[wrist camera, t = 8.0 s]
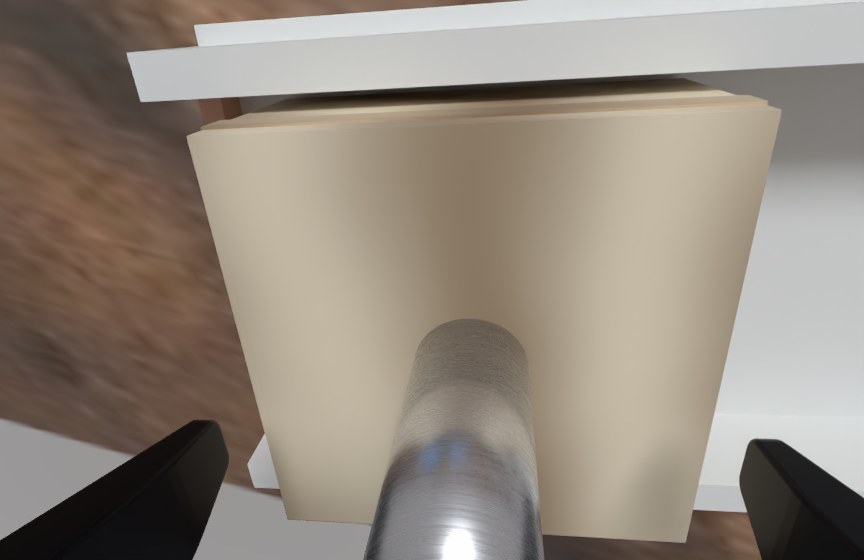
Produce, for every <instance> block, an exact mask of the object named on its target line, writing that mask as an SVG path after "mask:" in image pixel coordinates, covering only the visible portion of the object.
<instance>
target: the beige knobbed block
mask: <svg viewBox="0 0 864 560" xmlns="http://www.w3.org/2000/svg"><path fill="white" fill-rule="evenodd" d="M768 102H769V101H767V100H764V99H760V98H757V97H754V96H751V95H734V94H731V93H728V92H725V91H722V90H719V89H716V88H713V87H710V86H706V85H703V84H700V83H697V82H694V81H691V80H688V79H685V78H670V79H651V80H632V81H613V82H594V83H575V84H556V85H537V86H518V87H499V88H480V89H461V90H442V91H423V92H404V93H385V94H367V95H348V96H329V97H310V98H291V99H285V100H282V101H279V102H277V103H274V104H271V105H268V106H266V107H263V108H260V109H258V110H255V111H252V112H250V113H247V114H244V115H242V116H239V117H236V118H234V119H231V120H219V121H216V122H213V123H211V124H208V125H205V126H202V127H200V130H201V131H199V132H196V133H193V134H191V135H188V136H186V137H187V141H188V144H189V148H190V152H191V156H192V159H193V163H194V167H195V171H196V175H197V178H198V182H199V186H200V190H201V193H202V197H203V201H204V205H205V209H206V212H207V216H208V220H209V224H210V227H211V231H212V235H213V239H214V243H215V246H216V250H217V254H218V258H219V261H220V265H221V269H222V273H223V277H224V280H225V284H226V288H227V292H228V295H229V299H230V303H231V307H232V311H233V314H234V318H235V322H236V326H237V329H238V333H239V337H240V341H241V345H242V348H243V352H244V356H245V360H246V363H247V367H248V371H249V375H250V378H251V382H252V386H253V390H254V394H255V397H256V401H257V405H258V409H259V412H260V416H261V420H262V424H263V428H264V431H265V435H266V439H267V443H268V446H269V450H270V454H271V458H272V462H273V465H274V469H275V473H276V477H277V480H278V484H279V488H280V492H281V496H282V499H283V503H284V507H285V511H286V514H287V518H288V519H289V520H306V521H324V522H340V523H357V524H372V528H371V532H370V536H369V540H368V543H367V547H366V551H365V555H364V559H363V560H544V552H543V539H542V534H545V535H562V536H579V537H596V538H613V539H630V540H647V541H664V542H681V543H686V538H687V534H688V529H689V525H690V520H691V516H692V511H693V507H694V502H695V498H696V493H697V489H698V485H699V480H700V476H701V471H702V467H703V462H704V458H705V453H706V449H707V444H708V440H709V435H710V431H711V426H712V422H713V417H714V413H715V408H716V404H717V399H718V395H719V390H720V386H721V381H722V377H723V372H724V368H725V363H726V359H727V354H728V350H729V345H730V341H731V336H732V332H733V327H734V323H735V318H736V314H737V310H738V305H739V301H740V296H741V292H742V287H743V283H744V278H745V274H746V269H747V265H748V260H749V256H750V251H751V247H752V242H753V238H754V233H755V229H756V224H757V220H758V215H759V211H760V206H761V202H762V197H763V193H764V188H765V184H766V179H767V175H768V170H769V166H770V161H771V157H772V152H773V148H774V144H775V139H776V135H777V130H778V126H779V121H780V117H781V112H782V110H781V109H778V108H774V107H771V106H768Z"/></svg>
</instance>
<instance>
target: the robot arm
mask: <svg viewBox="0 0 864 560" xmlns="http://www.w3.org/2000/svg"><path fill="white" fill-rule="evenodd" d="M228 463H229V454H228V450H227V447H226V444H225V440H224V437H223V434H222V431H221V428H220V425H219V424H218V423H217V422H216V421H214V420H193V421H191V422H189V423H188V424H186V425H185V426H183V427H181V428H180V429H178V430H177V431H175V432H173V433H172V434H170V435H169V436H167V437H165V438H164V439H162V440H161V441H159V442H157V443H156V444H154V445H153V446H151V447H149V448H148V449H146V450H145V451H143V452H141V453H140V454H138V455H137V456H135V457H133V458H132V459H130V460H128V461H127V462H125V463H124V464H122V465H120V466H119V467H117V468H116V469H114V470H112V471H111V472H109V473H108V474H106V475H104V476H103V477H101V478H100V479H98V480H96V481H95V482H93V483H92V484H90V485H88V486H87V487H85V488H84V489H82V490H80V491H79V492H77V493H76V494H74V495H72V496H71V497H69V498H68V499H66V500H64V501H63V502H61V503H60V504H58V505H56V506H55V507H53V508H51V509H50V510H48V511H47V512H45V513H44V514H42V515H40V516H39V517H37V518H35V519H34V520H32V521H31V522H29V523H27V524H26V525H24V526H23V527H21V528H19V529H18V530H16V531H15V532H13V533H11V534H10V535H8V536H7V537H5V538H3V539H2V540H0V560H192V559H193V557H194V555H195V553H196V550H197V547H198V546H199V543H200V540H201V538H202V536H203V533H204V530H205V527H206V525H207V522H208V519H209V517H210V514H211V511H212V509H213V506H214V503H215V500H216V497H217V495H218V492H219V490H220V487H221V484H222V481H223V479H224V476H225V473H226V471H227V468H228ZM739 486H740V491H741V494H742V498H743V501H744V504H745V507H746V510H747V513H748V517H749V520H750V523H751V526H752V529H753V532H754V536H755V539H756V542H757V545H758V548H759V551H760V555H761V558H762V560H864V497H862V496H861V495H859V494H858V493H856V492H855V491H854V490H852V489H851V488H849V487H848V486H846V485H845V484H844V483H842V482H841V481H839V480H838V479H836V478H835V477H834V476H832V475H831V474H829V473H828V472H826V471H825V470H824V469H822V468H821V467H819V466H818V465H816V464H815V463H814V462H812V461H811V460H809V459H808V458H806V457H805V456H804V455H802V454H801V453H799V452H798V451H796V450H795V449H793V448H792V447H791V446H789V445H788V444H786V443H785V442H783V441H781V440H778V439H761V438H755V439H752V440H750V442H749V443H748V445H747V449H746V453H745V456H744V460H743V464H742V468H741V471H740V476H739Z"/></svg>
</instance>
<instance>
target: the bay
mask: <svg viewBox="0 0 864 560" xmlns="http://www.w3.org/2000/svg"><path fill="white" fill-rule="evenodd" d="M194 28H195V32H196V37H197V41H198V45H199V46H196V47H185V48H174V49H163V50H152V51H141V52H130V53H127V57H128V60H129V63H130V67H131V70H132V74H133V77H134V80H135V84H136V87H137V91H138V94H139V97H140V101H141V102H151V101H169V100H188V99H198V100H199V104H200V108H201V112H202V116H203V120H204V124H205V125H208V124H211V123H213V122H216V121H219V120H231V119H234V118H236V117H239V116H242V115H244V114H247V113H250V112H252V111H255V110H258V109H260V108H263V107H266V106H268V105H271V104H274V103H277V102H279V101H282V100H285V99H291V98H310V97H329V96H348V95H367V94H385V93H404V92H423V91H442V90H461V89H480V88H499V87H518V86H537V85H556V84H575V83H594V82H613V81H632V80H651V79H670V78H685V79H688V80H691V81H694V82H697V83H700V84H703V85H706V86H710V87H713V88H716V89H719V90H722V91H725V92H728V93H731V94H734V95H751V96H754V97H757V98H760V99H764V100H767V101H769V102H768V106H771V107H774V108H778V109H781V110H782V112H781V117H780V121H779V126H778V130H777V135H776V139H775V144H774V148H773V152H772V157H771V161H770V166H769V170H768V175H767V179H766V184H765V188H764V193H763V197H762V202H761V206H760V211H759V215H758V220H757V224H756V229H755V233H754V238H753V242H752V247H751V251H750V256H749V260H748V265H747V269H746V274H745V278H744V283H743V287H742V292H741V296H740V301H739V305H738V310H737V314H736V318H735V323H734V327H733V332H732V336H731V341H730V345H729V350H728V354H727V359H726V363H725V368H724V372H723V377H722V381H721V386H720V390H719V395H718V399H717V404H716V408H715V413H714V417H713V422H712V426H711V431H710V435H709V440H708V444H707V449H706V453H705V458H704V462H703V467H702V471H701V476H700V480H699V485H698V489H697V493H696V498H695V502H694V507H693V510H710V511H729V512H747V510H746V507H745V504H744V501H743V498H742V494H741V491H740V486H739V476H740V471H741V468H742V464H743V460H744V456H745V453H746V449H747V445H748V443H749V442H750V440H752V439H755V438H761V439H778V440H781V441H783V442H785V443H786V444H788V445H789V446H791V447H792V448H793V449H795V450H796V451H798V452H799V453H801V454H802V455H804V456H805V457H806V458H808V459H809V460H811V461H812V462H814V463H815V464H816V465H818V466H819V467H821V468H822V469H824V470H825V471H826V472H828V473H829V474H831V475H832V476H834V477H835V478H836V479H838V480H839V481H841V482H842V483H844V484H845V485H846V486H848V487H849V488H851V489H852V490H854V491H855V492H856V493H858V494H859V495H861V496H862V497H864V0H527V1H513V2H500V3H486V4H473V5H459V6H446V7H432V8H419V9H405V10H392V11H378V12H365V13H352V14H338V15H325V16H311V17H298V18H284V19H271V20H257V21H244V22H230V23H217V24H203V25H194ZM247 465H248V468H249V471H250V475H251V478H252V482H253V485H254V487H256V488H275V489H280V488H279V484H278V480H277V477H276V473H275V469H274V465H273V462H272V458H271V454H270V450H269V446H268V443H267V439H266V435H265V434H264V436H263V438H262V439H261V441H260V443H259V445H258V447H257V448H256V450H255V452H254V454H253V455H252V457H251V459H250V461H249V462H248V464H247Z"/></svg>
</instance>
